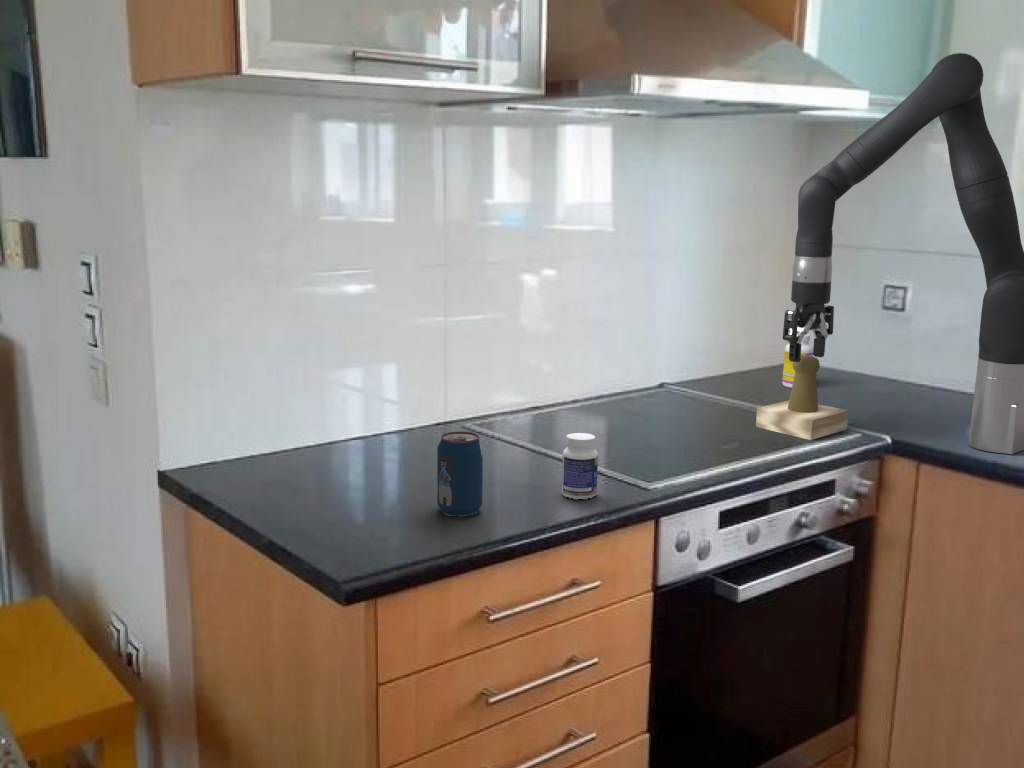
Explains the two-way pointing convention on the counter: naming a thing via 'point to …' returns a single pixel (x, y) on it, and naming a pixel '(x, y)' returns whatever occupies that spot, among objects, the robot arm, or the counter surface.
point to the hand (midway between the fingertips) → (806, 359)
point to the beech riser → (802, 420)
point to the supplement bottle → (788, 365)
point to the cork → (804, 386)
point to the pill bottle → (580, 466)
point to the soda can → (459, 473)
